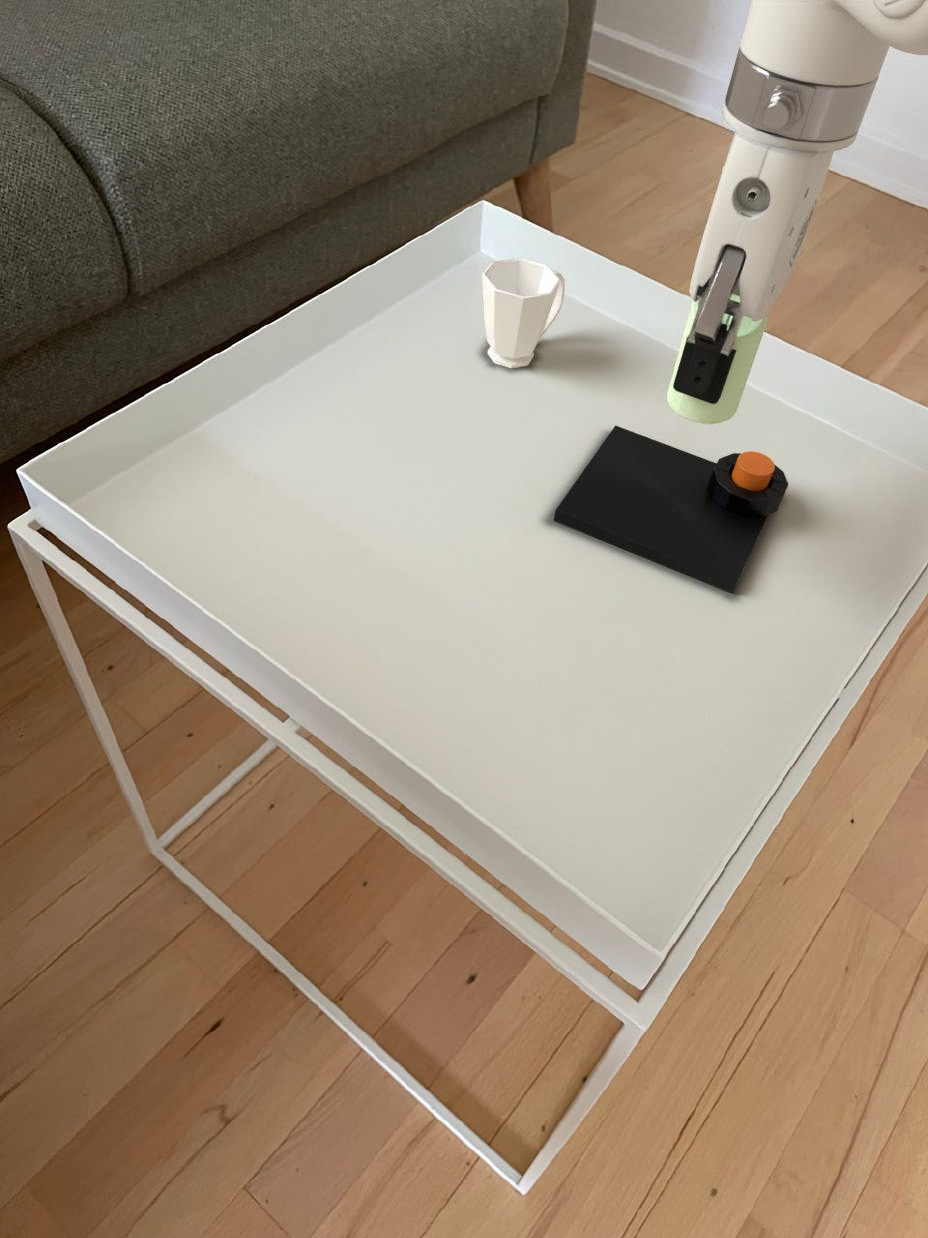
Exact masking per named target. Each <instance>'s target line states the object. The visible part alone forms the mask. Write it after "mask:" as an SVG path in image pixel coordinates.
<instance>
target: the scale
mask: <svg viewBox="0 0 928 1238" xmlns="http://www.w3.org/2000/svg"><path fill="white" fill-rule="evenodd" d="M742 453H743V452H742ZM742 453H741V452H740V453H739V452H734V453H729V454H728V455H725V456H723V457H720V458H718V459H717V462H715V461H711V460H709V459H706V458H704V457H701V456H698V455H695V454H693V453H690V452H688V451H686V450H682V449H679V448H677V447H675V446H672V445H669V444H667V443H664V442H661V441H658V440H656V439H653V438H650V437H647V436H645V435H642V434H639V433H636V432H635V431H632V430H630V429H626V428H624V427H622V426H618V425H617V424H616V425H614V426H613V428H612V429H611V431H610V432H609V434H608V435H607V437H606V438H605V439H604V441H603V442H602V444H600V446H599V447H598V449H597V451H596V452H595V453H594V454H593V456H592V458H591V459H590V461H589V462H588V463H587V464H586V466H585V467H584V468H583V470H582V472H581V473H580V475H579V476H578V477H577V479H576V480H575V482H574V483H573V485H572V486H571V487H570V489H569V490H568V491H567V493H566V494H565V496H564V497H563V499H562V500H561V501H560V503H559V504H558V506H557V507H556V508H555V511H554V516H553V521H554V522H555V523H558V524H561V525H563V526H566V527H568V528H571V529H573V530H576V531H577V532H580V533H583V534H586V535H587V536H590V537H593V538H596V539H598V540H600V541H603V542H604V543H607V544H609V545H612V546H614V547H618V548H619V549H622V550H624V551H626V552H629V553H632V554H634V555H637V556H639V557H642V558H643V559H647V560H648V561H652V562H653V563H656V564H658V565H661V566H664V567H666V568H669V569H671V570H672V571H673V570H674V571H676V572H679V573H681V574H683V575H686V576H688V577H691V578H693V579H695V580H697V581H700V582H703V583H705V584H708V585H710V586H713V587H715V588H717V589H720V590H722V591H724V592H727V593H730V594H733V593H734V592H735V590H736V587H737V585H738V583H739V581H740V579H741V576H742V574H743V572H744V569H746V566H747V564H748V562H749V559H750V557H751V556H752V552H753V551H754V548H755V546H756V544H757V542H758V540H759V537H760V535H761V534H762V531H763V530H764V527H765V525H766V523H767V520H768V518H769V516H770V515H772V514H774V513H776V512H777V511H778V510H779V507H780V505H781V503H782V501H783V499H784V496H785V494H786V491H787V489H788V486H789V482H788V479H787V477H786V475H785V472H784V471H783V470H782V469H781V468H780V467H779V466H777V465H776V464H775V463H774V465H775V470H774V472H773V474H772V477H771V479H770V482H769V484H768V486H767V488H766V489H764V490H763V491H750V490H748V489H745V488H742V487H740V486H738V485H737V484H736V483H735V482H733V480H732V472H733V469H734V467H735V464H736V462H737V459H738V457H739V455H740V454H742Z"/></svg>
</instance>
